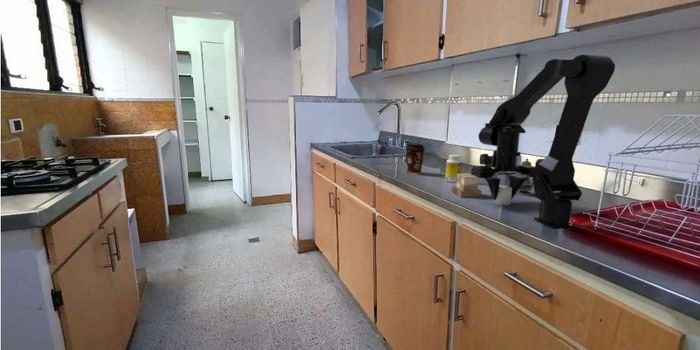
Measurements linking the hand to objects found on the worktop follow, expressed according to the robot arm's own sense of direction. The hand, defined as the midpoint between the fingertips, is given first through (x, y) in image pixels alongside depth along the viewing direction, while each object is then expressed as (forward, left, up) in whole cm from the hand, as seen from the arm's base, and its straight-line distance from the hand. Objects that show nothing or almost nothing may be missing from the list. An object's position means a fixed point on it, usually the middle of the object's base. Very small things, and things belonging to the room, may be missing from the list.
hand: (502, 199), depth 101 cm
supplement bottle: (+32, +1, -1) cm, 32 cm away
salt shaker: (+10, -14, -1) cm, 17 cm away
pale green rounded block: (0, 0, -1) cm, 1 cm away
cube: (+11, +6, +1) cm, 12 cm away
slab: (+11, +6, -2) cm, 13 cm away
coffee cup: (+50, +11, -1) cm, 51 cm away
